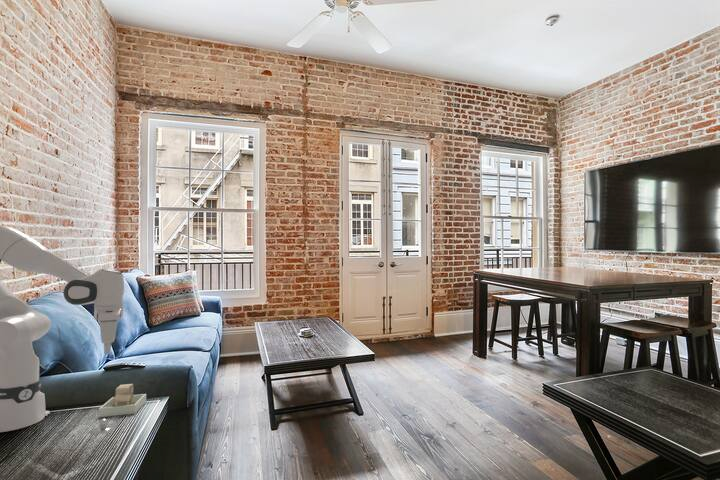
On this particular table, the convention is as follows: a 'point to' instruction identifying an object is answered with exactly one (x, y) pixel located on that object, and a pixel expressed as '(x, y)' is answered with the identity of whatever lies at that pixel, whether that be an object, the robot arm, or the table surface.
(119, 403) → the tan rectangular block
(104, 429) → the grey pot lid
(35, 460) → the table surface
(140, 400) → the bin
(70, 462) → the table surface
